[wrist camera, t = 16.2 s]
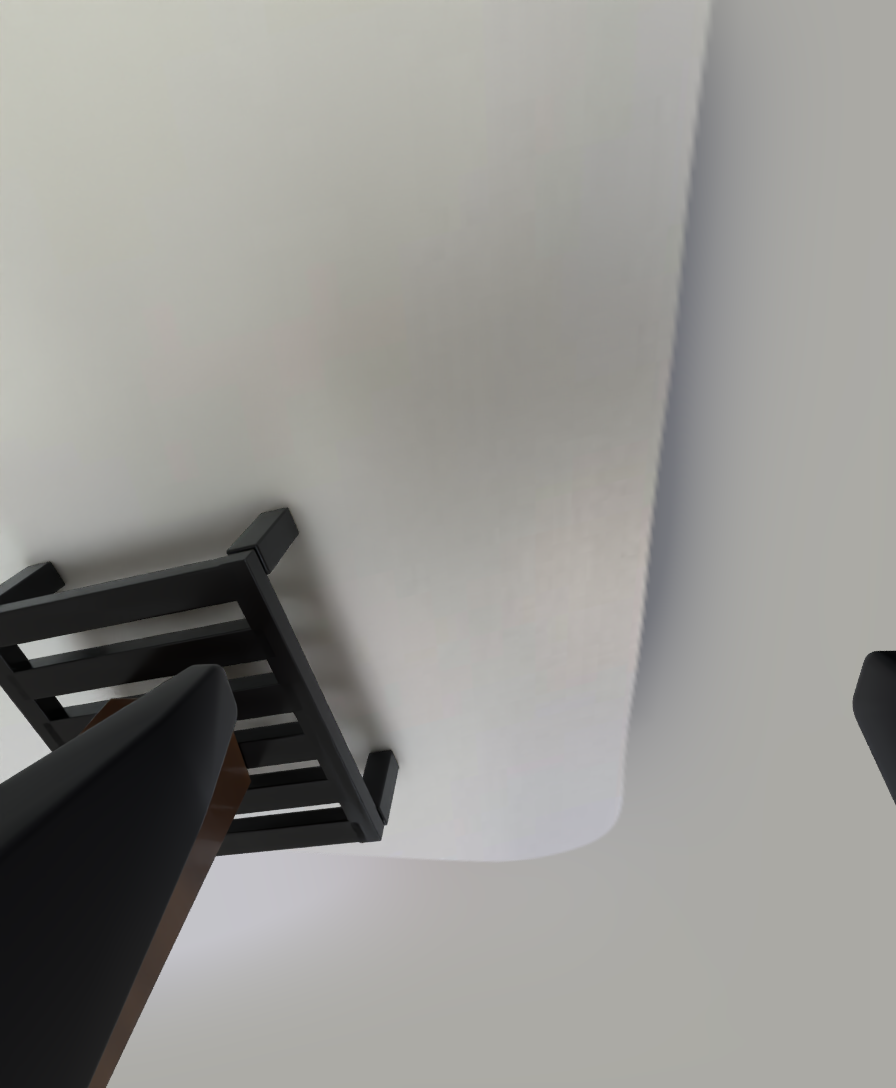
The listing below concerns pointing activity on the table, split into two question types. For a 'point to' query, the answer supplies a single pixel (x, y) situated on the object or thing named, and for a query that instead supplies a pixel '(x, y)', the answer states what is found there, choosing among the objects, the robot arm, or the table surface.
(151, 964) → the walnut block
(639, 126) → the table surface
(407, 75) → the table surface
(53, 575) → the rack
